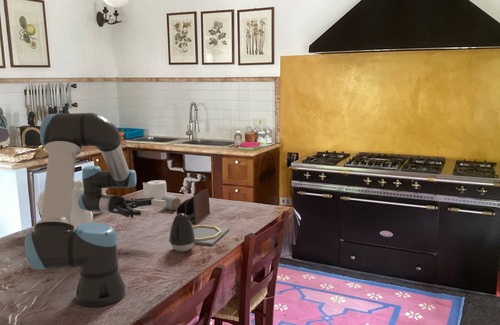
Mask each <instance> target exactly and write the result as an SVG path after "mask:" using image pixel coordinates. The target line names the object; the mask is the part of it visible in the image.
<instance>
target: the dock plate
mask: <svg viewBox="0 0 500 325" xmlns="http://www.w3.org/2000/svg"><path fill="white" fill-rule="evenodd" d="M192 227H193V230H194V235H195V241H194V244H195V245H201V246H202V245H204V246H212V247H213V246H214V245H215V244H216V243H217V242H219V240H221V239H222V238H223V237H224V236H225V235H226V234H227V233H228V232H230V228H229V227H219V226H215V225H207V224H196V225H192ZM221 237H222V238H221ZM168 242H170V237H169V240H168ZM194 244H193V245H194Z"/></svg>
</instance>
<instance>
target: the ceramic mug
mask: <svg viewBox="0 0 500 325" xmlns="http://www.w3.org/2000/svg"><path fill="white" fill-rule="evenodd" d="M162 200H164V201H166V207H162V208H163V209H164V210H165V209H166V210H171V211H177V208H178V206H179V205H180V204H181V203H182V202H181V199H180V197H178V196H175V195H171V194H166V195H164V196H163V198H162Z"/></svg>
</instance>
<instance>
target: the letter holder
mask: <svg viewBox="0 0 500 325" xmlns="http://www.w3.org/2000/svg"><path fill="white" fill-rule="evenodd" d="M209 192H210V190H209V189H208V188H205V189H202V190H201V191H199V192H198V193H197V194H195V195H193V196H192V197H190V198H187V199H185V200H184V201H183V202H181V204H180V205H179V206H178V208H177V210H176V215H178V214H180V213H183V214H186V215H187V216H189V215H191V214H194V217H192V218H190V219H189V220H190V222H191V224H192V225H198V224H199V223H200V222H201V221H202V220H203V219H205V218H206V217H207V216H208V215H209V214H210V213H211V212H210V210H211V209H210V207H211V206H210V193H209Z"/></svg>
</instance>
